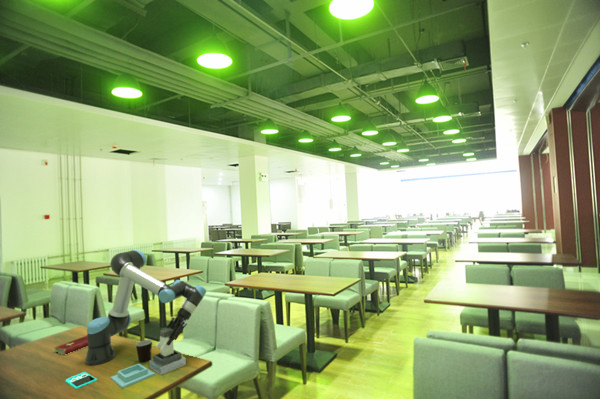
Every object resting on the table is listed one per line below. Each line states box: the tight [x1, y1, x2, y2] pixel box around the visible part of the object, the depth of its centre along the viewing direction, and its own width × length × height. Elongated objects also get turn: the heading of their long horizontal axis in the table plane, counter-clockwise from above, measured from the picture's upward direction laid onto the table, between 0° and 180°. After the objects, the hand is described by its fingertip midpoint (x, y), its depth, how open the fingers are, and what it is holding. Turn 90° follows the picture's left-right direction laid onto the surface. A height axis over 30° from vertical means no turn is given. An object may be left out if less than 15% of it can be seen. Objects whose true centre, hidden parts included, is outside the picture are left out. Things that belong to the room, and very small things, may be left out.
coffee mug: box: [135, 339, 153, 364], centre depth 199 cm, size 12×9×10 cm
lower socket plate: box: [110, 363, 156, 389], centre depth 178 cm, size 16×16×4 cm
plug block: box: [159, 327, 175, 356], centre depth 188 cm, size 5×5×13 cm
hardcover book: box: [53, 335, 88, 356], centre depth 225 cm, size 12×21×4 cm, turn 152°
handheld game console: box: [65, 371, 98, 390], centre depth 178 cm, size 10×16×1 cm, turn 53°
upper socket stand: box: [148, 349, 187, 376], centre depth 188 cm, size 14×14×6 cm
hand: (160, 349), depth 185 cm, fingers closed on plug block, 5 cm apart
